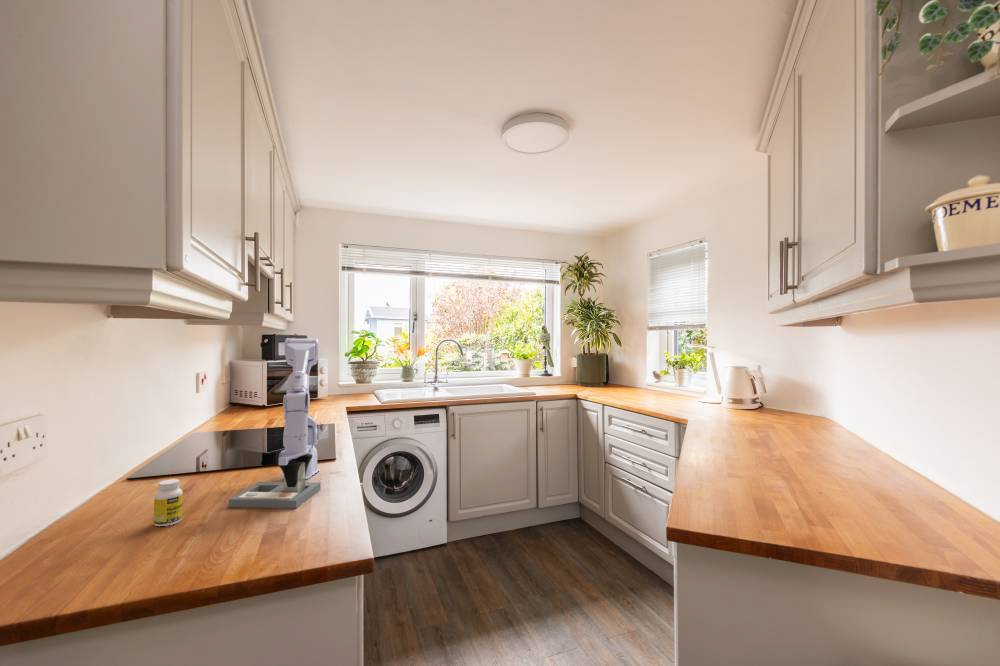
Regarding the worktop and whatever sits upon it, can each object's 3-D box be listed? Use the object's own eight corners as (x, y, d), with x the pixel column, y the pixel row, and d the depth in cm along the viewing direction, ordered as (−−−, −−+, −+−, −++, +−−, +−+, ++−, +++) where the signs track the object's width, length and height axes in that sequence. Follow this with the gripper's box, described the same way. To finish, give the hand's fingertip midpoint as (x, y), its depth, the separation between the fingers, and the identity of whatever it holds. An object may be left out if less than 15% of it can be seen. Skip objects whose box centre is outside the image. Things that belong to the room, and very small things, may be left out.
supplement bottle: (166, 528, 101) (167, 486, 101) (147, 526, 102) (148, 484, 102) (187, 519, 106) (188, 478, 106) (169, 517, 107) (170, 477, 107)
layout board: (260, 488, 128) (260, 479, 128) (320, 489, 127) (320, 481, 127) (228, 507, 114) (228, 497, 114) (296, 508, 113) (296, 498, 113)
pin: (291, 490, 124) (291, 462, 124) (304, 490, 124) (305, 462, 124) (283, 495, 120) (283, 466, 120) (297, 495, 120) (298, 466, 120)
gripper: (295, 429, 129) (295, 475, 129) (267, 441, 115) (267, 492, 115) (318, 429, 129) (318, 475, 129) (293, 441, 115) (293, 493, 114)
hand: (295, 483), depth 122 cm, fingers closed on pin, 4 cm apart
